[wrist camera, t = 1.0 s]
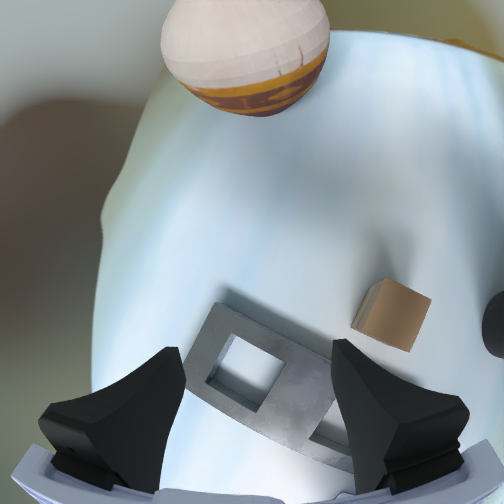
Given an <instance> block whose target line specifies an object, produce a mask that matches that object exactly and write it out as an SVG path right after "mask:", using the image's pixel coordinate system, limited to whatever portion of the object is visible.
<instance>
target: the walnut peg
mask: <svg viewBox="0 0 504 504" xmlns="http://www.w3.org/2000/svg"><path fill="white" fill-rule="evenodd" d="M430 303H431V299H429V298H427V297H425V296H423V295H421V294H419V293H417V292H415V291H413V290H411V289H409V288H407V287H405V286H403V285H401V284H399V283H397V282H395V281H393V280H391V279H389V278H387V277H385V278H383V279H382V280H380V281H379V282H377V283H376V284H374V285H373V286H371V287H370V288H369V289H368V291H367V293H366V296H365V298H364V300H363V302H362V304H361V307H360V309H359V311H358V313H357V315H356V317H355V319H354V321H353V323H352V325H351V328H353V329H355V330H357V331H359V332H361V333H363V334H365V335H367V336H369V337H372V338H374V339H376V340H378V341H380V342H382V343H384V344H387V345H389V346H392V347H395V348H398V349H401V350H403V351H406V352H410V350H411V348H412V346H413V343H414V341H415V339H416V337H417V335H418V332H419V330H420V328H421V325H422V323H423V321H424V318H425V316H426V313H427V311H428V308H429V306H430Z"/></svg>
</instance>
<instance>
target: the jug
mask: <svg viewBox="0 0 504 504" xmlns="http://www.w3.org/2000/svg"><path fill="white" fill-rule="evenodd" d="M329 40H330V24H329V21H328V18H327V15H326V12H325V10H324V7H323V5H322V4H321V2H320V1H319V0H176V1H175V3H174V5H173V7H172V8H171V10H170V12H169V14H168V16H167V18H166V21H165V23H164V25H163V28H162V35H161V51H162V54H163V57H164V60H165V63H166V65H167V68H168V69H169V70H170V71H171V73H172V74H173V75H174V76H175V77H176V79H177V80H178V81H179V82H180V83H181V84H182V85H183V86H184V87H185V88H187V89H188V90H189V91H190V92H191V93H193V94H194V95H195V96H197V97H198V98H200V99H201V100H203V101H205V102H206V103H208V104H210V105H211V106H213V107H215V108H217V109H219V110H222V111H226V112H231V113H235V114H240V115H247V116H256V117H264V116H271V115H274V114H277V113H279V112H282V111H283V110H285V109H286V108H288V107H289V106H291V105H292V104H293V103H295V102H296V101H298V100H299V99H300V98H301V97H302V96H303V95H304V94H305V93H306V92H307V91H308V90H309V89H311V87H312V86H313V85H314V83H315V82H316V80H317V78H318V76H319V74H320V72H321V70H322V67H323V65H324V63H325V59H326V55H327V51H328V47H329Z"/></svg>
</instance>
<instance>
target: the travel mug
mask: <svg viewBox="0 0 504 504" xmlns="http://www.w3.org/2000/svg"><path fill="white" fill-rule="evenodd" d="M482 336H483V341H484V344H485V347H486V348H487V350H488V351H489V352H490V353H491V354H492V355H494V356H496V357H499V358H504V291H503V292H501V293H499V294H497V295H496V296H495V297H493V299H492V300H491V301H490V302H489V304H488V306H487V308H486V310H485V313H484V317H483V322H482Z"/></svg>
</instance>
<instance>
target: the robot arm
mask: <svg viewBox="0 0 504 504" xmlns="http://www.w3.org/2000/svg"><path fill="white" fill-rule="evenodd" d="M330 374H331V380H332V385H333V390H334V393H335V396H336V399H337V402H338V405H339V408H340V411H341V414H342V417H343V420H344V423H345V426H346V430H347V433H348V438H349V444H350V449H351V455H352V462H353V469H354V477H355V487H356V496H354V495H351V494H348V493H341V494H339V495H338V497H337V498H336V499H335V500H329V501H322V502H314V503H305V504H482V503H483V502H484V501H485V500H486V499H487V498H489V497H490V496H491V495H492V494H493V493H494V492H495V491H496V490H497V489H499V488H500V487H501V486H502V485H503V484H504V466H503V464H502V463H501V461H500V459H499V458H498V456H497V454H496V453H495V451H494V449H493V448H492V446H491V444H490V443H489V441H488V440H487V439H484V440H483V441H481V442H479V443H477V444H475V445H473V446H471V447H469V448H468V449H466V450H465V451H463V452H462V453H461V454H460V452H459V450H458V448H459V447H460V443H459V441H458V440H457V439H458V437H459V436H460V434H461V432H462V431H463V429H464V428H465V426H466V424H467V422H468V420H469V415H470V412H469V410H468V408H467V407H466V406H465V404H464V403H463V401H462V400H461V399H460V397H459V396H455V395H449V394H443V393H438V392H435V391H431V390H427V389H424V388H421V387H419V386H416V385H414V384H411V383H409V382H407V381H404V380H402V379H400V378H399V377H397V376H395V375H393V374H391V373H390V372H388V371H386V370H385V369H383V368H382V367H380V366H379V365H377V364H376V363H375V362H373V361H372V360H371V359H369V358H368V357H367V356H366V355H364V354H363V353H362V352H361V351H360V350H359V349H357V348H356V347H355V346H354V345H353V344H352V343H350V342H349V341H348V340H347V339H339V340H333V350H332V362H331V373H330ZM186 380H187V379H186V375H185V372H184V368H183V364H182V361H181V357H180V353H179V349H178V347H165V348H164V349H162V350H161V351H159V352H158V353H157V354H156V355H154V356H153V357H152V358H150V359H149V360H148V361H147V362H145V363H144V364H143V365H141V366H140V367H139V368H137V369H136V370H134V371H133V372H131V373H130V374H128V375H127V376H125V377H124V378H122V379H121V380H119V381H117V382H115V383H114V384H112V385H110V386H108V387H106V388H103V389H101V390H99V391H96V392H94V393H92V394H89V395H86V396H83V397H80V398H76V399H73V400H68V401H62V402H57V403H51V404H50V405H49V407H48V408H47V409H46V410H45V412H44V413H43V414H42V416H41V417H40V418H39V420H38V424H39V426H40V429H41V430H42V432H43V434H44V435H45V436H46V438H47V439H48V440H49V442H50V443H51V444H52V445H53V447H54V448H55V449H56V450H57V452H56V454H55V455H53V454H52V453H51V452H49V451H48V450H46V449H43V448H41V447H39V446H38V445H36V444H32V446H31V447H30V448H29V450H28V451H27V453H26V454H25V456H24V457H23V458H22V460H21V461H20V463H19V464H18V466H17V467H16V468H15V470H14V472H13V473H12V474H11V477H12V478H13V479H14V480H15V481H16V482H17V483H18V484H19V485H20V486H21V487H22V488H23V489H24V490H26V491H27V492H28V493H29V494H30V495H31V496H32V497H34V498H35V499H36V500H37V501H39V502H40V503H41V504H285V503H284V502H283V501H282V500H280V499H276V498H272V497H269V496H256V495H230V494H215V493H204V492H196V491H188V490H181V489H169V488H164V489H161V490H159V484H160V476H161V469H162V463H163V458H164V453H165V448H166V444H167V439H168V436H169V433H170V430H171V427H172V424H173V422H174V419H175V416H176V414H177V411H178V409H179V406H180V403H181V401H182V398H183V394H184V390H185V385H186Z"/></svg>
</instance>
